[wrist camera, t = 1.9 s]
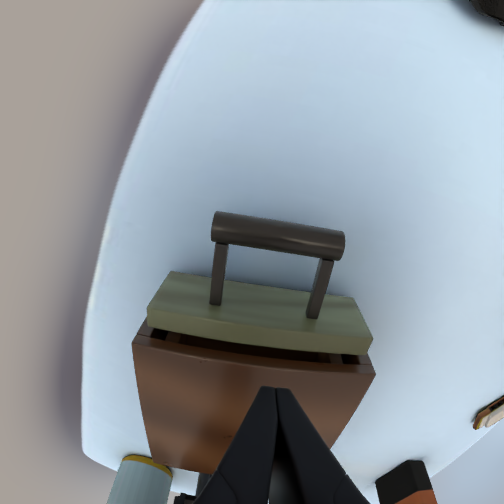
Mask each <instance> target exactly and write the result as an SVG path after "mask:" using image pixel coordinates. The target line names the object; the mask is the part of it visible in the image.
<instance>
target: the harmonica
mask: <svg viewBox="0 0 504 504" xmlns="http://www.w3.org/2000/svg"><path fill="white" fill-rule="evenodd" d="M503 418H504V397H502V398H501V399H499V400H498V401H496V402H494V403H493V404H491V405H490V406H488V407H487V409H485V410H483V411H482V412H480V413H479V414H478V415H477V417H476V419H475V422H474V424H473V429H475V430H477V429H479V428H481V427H483V426H484V425H485V427H486V428H487V427H490V426H491V425H493V424H495V423H496V422H498V421H499V420H501V419H503Z"/></svg>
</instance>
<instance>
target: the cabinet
mask: <svg viewBox="0 0 504 504" xmlns="http://www.w3.org/2000/svg"><path fill="white" fill-rule="evenodd" d="M168 332H169V331H167V330H162V329H157V328H153V327H149V326H148V324H147V317H146V319H145V320H144V322H143V324H142V325H141V327H140V329H139V330H138V332H137V335H136V336H135V338H134V339H133V341H132V352H133V360H134V367H135V374H136V381H137V387H138V393H139V399H140V405H141V410H142V415H143V420H144V425H145V430H146V435H147V439H148V443H149V448H150V452H151V456H152V460H153V462H154V463H157V464H161V465H165V466H170V467H174V468H179V469H184V470H189V471H194V472H200V473H206V474H213V473H214V471H215V470H216V468H217V466H218V464H219V463H220V461H221V459H222V458H223V456H224V454H225V452H226V450H227V449H228V447H229V445H230V443H231V442H232V440H233V438H234V436H235V434H236V432H237V431H238V429H239V427H240V425H241V423H242V421H243V419H244V418H245V416H246V414H247V412H248V410H249V408H250V406H251V404H252V402H253V400H254V398H255V397H256V395H257V393H258V391H259V389H260V387H261V386H271V387H274V388H276V387H281V388H289V389H290V390H291V392H292V393H293V395H294V396H295V398H296V399H297V401H298V402H299V404H300V405H301V407H302V409H303V410H304V412H305V413H306V415H307V416H308V418H309V419H310V421H311V422H312V424H313V425H314V427H315V428H316V430H317V431H318V433H319V434H320V436H321V437H322V439H323V440H324V442H325V443H326V445H327V446H328V447H329V449H331V447H332V446H333V444H334V443H335V441H336V440H337V438H338V437H339V435H340V434H341V432H342V431H343V429H344V428H345V426H346V425H347V423H348V422H349V420H350V418H351V417H352V415H353V414H354V412H355V410H356V409H357V407H358V405H359V404H360V402H361V400H362V399H363V397H364V395H365V394H366V392H367V390H368V388H369V386H370V385H371V383H372V381H373V379H374V377H375V376H376V373H375V370H374V368H373V366H372V363H371V360H370V358H369V355H368V353H367V354H366V355H350V354H340V355H341V358H342V361H343V364H334V363H319V362H307V361H295V360H285V359H276V358H267V357H259V356H252V355H244V354H237V353H231V352H224V351H218V350H212V349H206V348H200V347H195V346H189V345H184V344H179V343H174V342H169V341H165V339H166V337H167V335H168Z"/></svg>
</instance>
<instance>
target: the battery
mask: <svg viewBox="0 0 504 504" xmlns="http://www.w3.org/2000/svg"><path fill="white" fill-rule="evenodd" d="M375 484H376V488H377V493H378V497H379V502H380V504H437V501H436V498H435V495H434V491H433V488H432V485H431V482H430V479H429V476H428V473H427V470H426V467H425V465H424V462H423V461H406V462H405V463H403V464H402V465H400V466H399V467H397V468H396V469H394V470H392V471H391V472H389V473H388V474H386V475H385V476H383V477H381V478H380V479H378V480H377V481H376V482H375Z"/></svg>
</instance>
